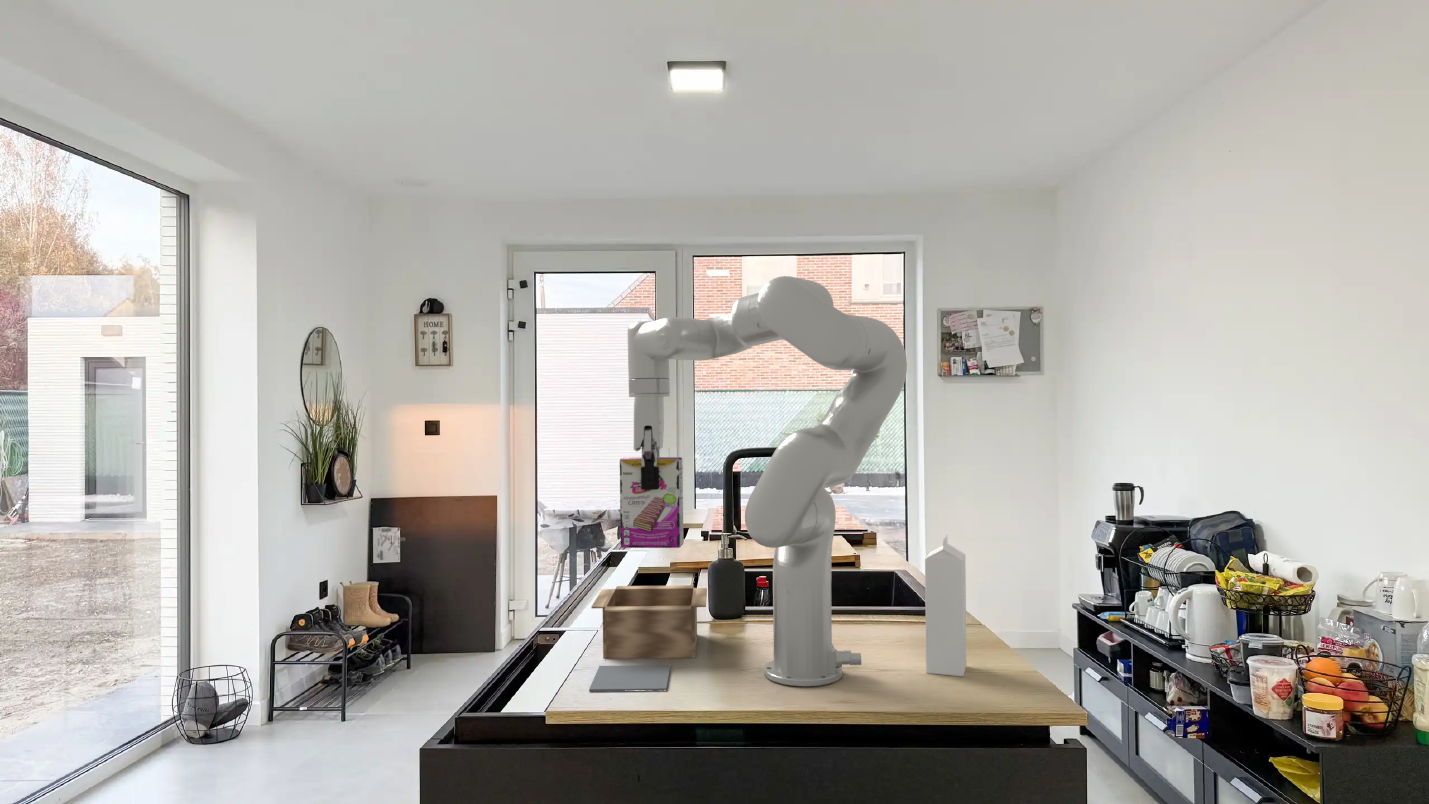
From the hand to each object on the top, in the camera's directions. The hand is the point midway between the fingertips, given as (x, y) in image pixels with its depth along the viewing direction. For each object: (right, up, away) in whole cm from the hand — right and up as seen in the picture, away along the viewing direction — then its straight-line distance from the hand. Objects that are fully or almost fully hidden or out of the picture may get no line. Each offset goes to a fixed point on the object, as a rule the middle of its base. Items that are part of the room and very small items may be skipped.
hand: (651, 486), depth 162 cm
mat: (-2, -29, -19) cm, 35 cm away
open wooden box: (0, -29, 0) cm, 29 cm away
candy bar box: (0, -11, 0) cm, 11 cm away
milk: (+50, -29, -16) cm, 60 cm away
